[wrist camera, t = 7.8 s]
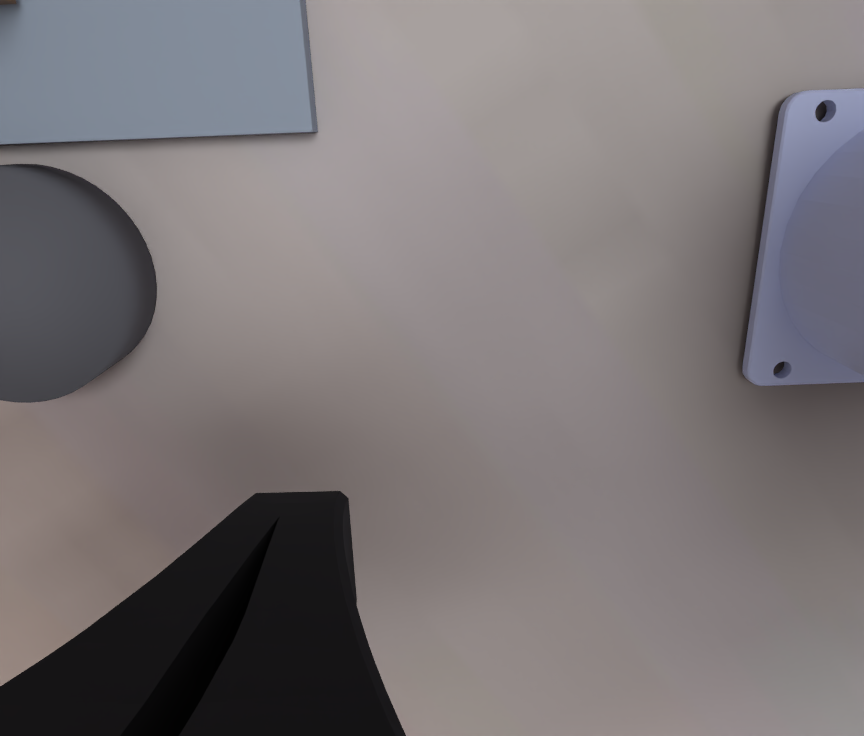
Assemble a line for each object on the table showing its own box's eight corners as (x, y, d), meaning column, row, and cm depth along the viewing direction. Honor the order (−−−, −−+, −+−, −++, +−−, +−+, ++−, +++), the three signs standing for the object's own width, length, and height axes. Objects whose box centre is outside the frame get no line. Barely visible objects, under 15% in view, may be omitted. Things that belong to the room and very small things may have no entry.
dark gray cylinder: (133, 159, 17) (91, 162, 14) (173, 369, 19) (141, 398, 17) (-90, 168, 17) (-164, 172, 14) (-25, 377, 19) (-82, 406, 17)
